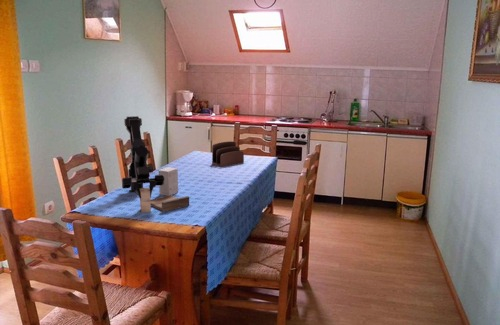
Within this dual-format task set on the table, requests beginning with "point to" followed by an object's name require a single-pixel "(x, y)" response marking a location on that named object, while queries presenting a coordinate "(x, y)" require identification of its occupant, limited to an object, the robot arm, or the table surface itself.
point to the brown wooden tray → (169, 202)
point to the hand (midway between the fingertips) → (145, 197)
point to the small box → (169, 181)
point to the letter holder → (226, 154)
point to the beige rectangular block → (145, 200)
